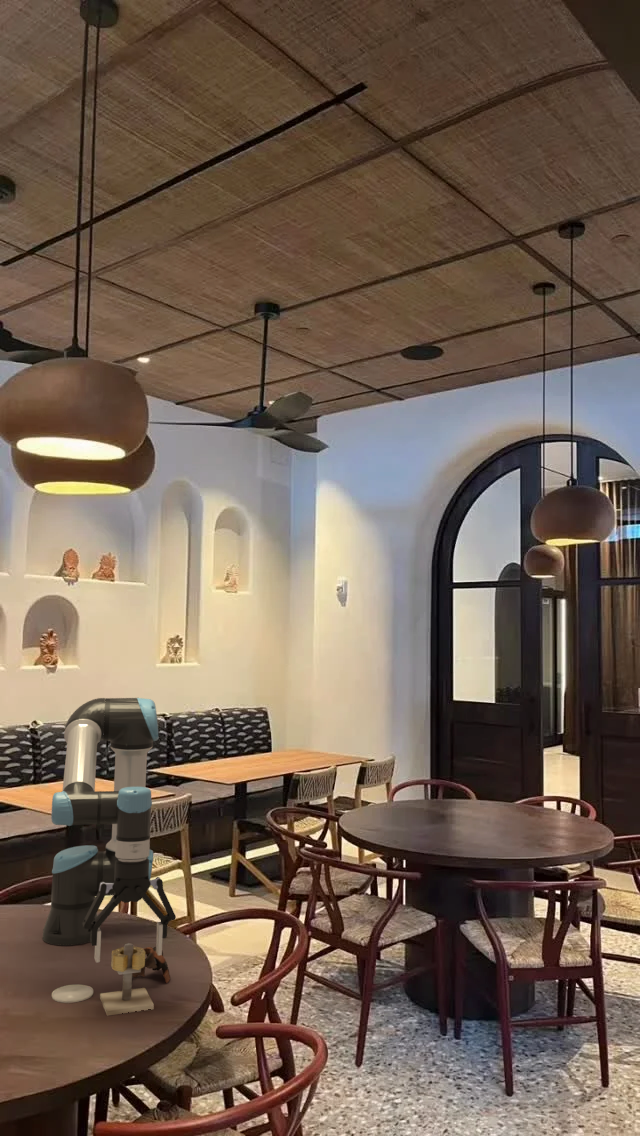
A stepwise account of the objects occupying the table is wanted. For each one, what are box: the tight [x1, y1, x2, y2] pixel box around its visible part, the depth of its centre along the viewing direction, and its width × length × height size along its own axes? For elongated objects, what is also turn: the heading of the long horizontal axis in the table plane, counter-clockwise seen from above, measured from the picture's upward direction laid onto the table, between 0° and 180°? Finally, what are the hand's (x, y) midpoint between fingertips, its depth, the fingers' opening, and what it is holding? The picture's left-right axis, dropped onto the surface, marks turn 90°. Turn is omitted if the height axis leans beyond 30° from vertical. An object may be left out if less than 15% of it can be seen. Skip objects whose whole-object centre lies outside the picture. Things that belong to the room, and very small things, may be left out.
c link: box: [110, 945, 146, 972], centre depth 190 cm, size 7×7×3 cm
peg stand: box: [99, 942, 155, 1016], centre depth 190 cm, size 10×10×12 cm
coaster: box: [51, 984, 94, 1004], centre depth 193 cm, size 9×9×1 cm
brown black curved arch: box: [132, 946, 171, 984], centre depth 205 cm, size 12×10×8 cm
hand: (128, 957), depth 190 cm, fingers open, 13 cm apart
